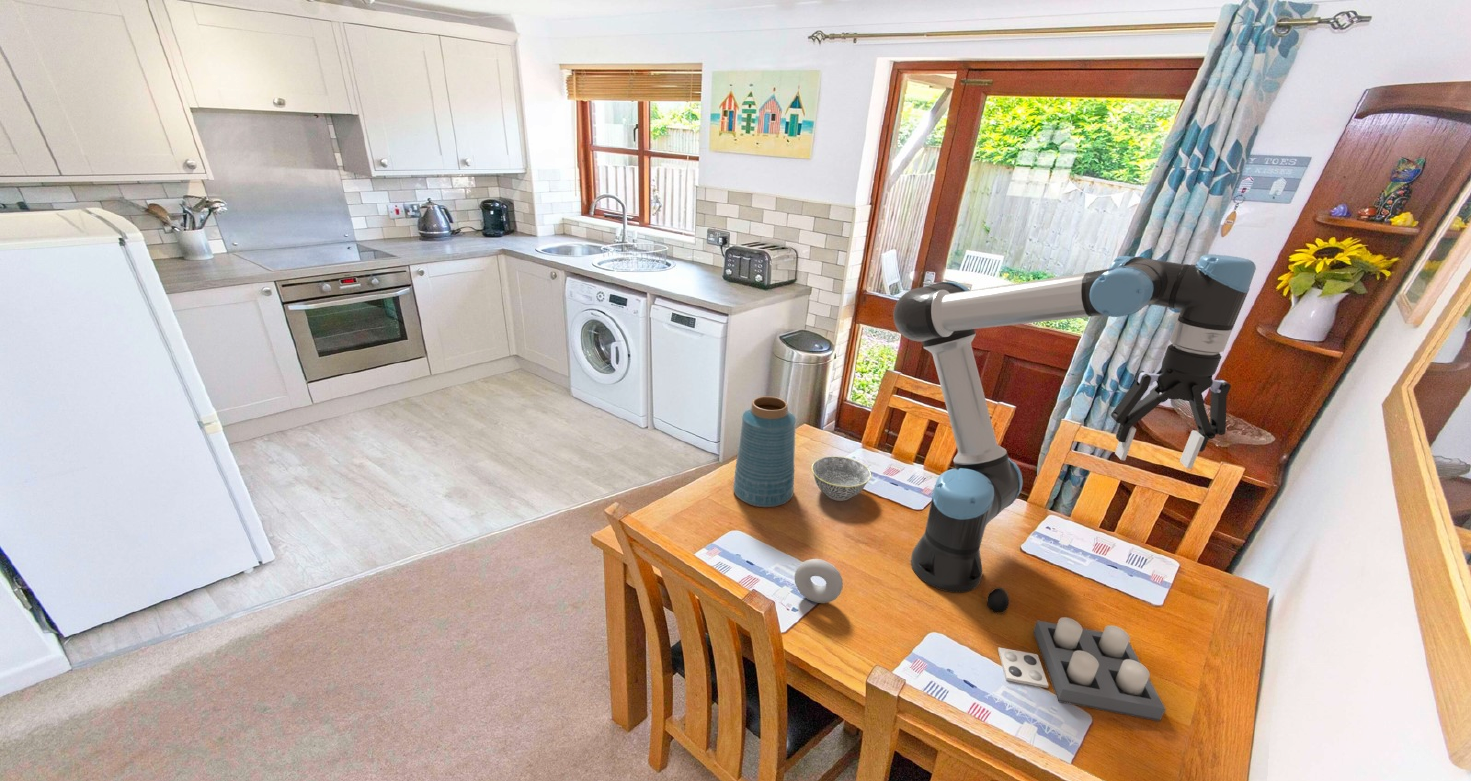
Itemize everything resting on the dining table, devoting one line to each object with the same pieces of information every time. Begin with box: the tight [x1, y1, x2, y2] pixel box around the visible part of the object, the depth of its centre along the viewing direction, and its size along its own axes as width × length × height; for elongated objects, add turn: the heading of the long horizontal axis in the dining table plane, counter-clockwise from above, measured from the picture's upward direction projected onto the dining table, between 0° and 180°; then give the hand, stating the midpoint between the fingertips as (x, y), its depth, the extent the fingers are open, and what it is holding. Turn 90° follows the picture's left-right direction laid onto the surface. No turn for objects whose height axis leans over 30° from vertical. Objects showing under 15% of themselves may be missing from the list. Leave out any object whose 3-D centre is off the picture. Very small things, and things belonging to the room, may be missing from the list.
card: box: [997, 647, 1049, 689], centre depth 105 cm, size 7×7×1 cm
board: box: [1032, 620, 1166, 722], centre depth 105 cm, size 16×16×3 cm
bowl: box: [810, 455, 872, 502], centre depth 155 cm, size 16×16×8 cm
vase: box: [732, 395, 797, 508], centre depth 150 cm, size 16×16×27 cm
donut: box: [794, 558, 844, 604], centre depth 117 cm, size 10×3×10 cm, turn 71°
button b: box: [1115, 659, 1151, 696], centre depth 99 cm, size 4×4×4 cm
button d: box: [1098, 624, 1131, 658], centre depth 106 cm, size 4×4×4 cm
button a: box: [1067, 650, 1099, 686], centre depth 101 cm, size 4×4×4 cm
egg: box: [986, 587, 1010, 614], centre depth 118 cm, size 4×4×5 cm
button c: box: [1053, 616, 1084, 650], centre depth 108 cm, size 4×4×4 cm
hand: (1152, 460), depth 107 cm, fingers open, 10 cm apart
